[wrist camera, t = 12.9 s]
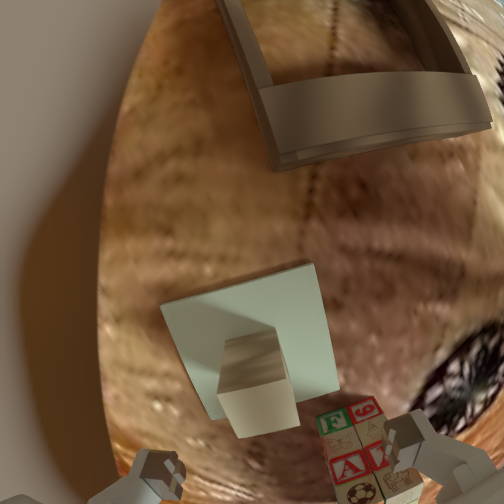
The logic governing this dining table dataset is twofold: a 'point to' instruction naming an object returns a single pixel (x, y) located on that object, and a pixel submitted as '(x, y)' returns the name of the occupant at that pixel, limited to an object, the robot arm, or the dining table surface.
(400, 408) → the dining table surface
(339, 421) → the stack of blocks
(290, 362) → the zone pad
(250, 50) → the access box
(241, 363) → the maple block
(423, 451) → the robot arm
